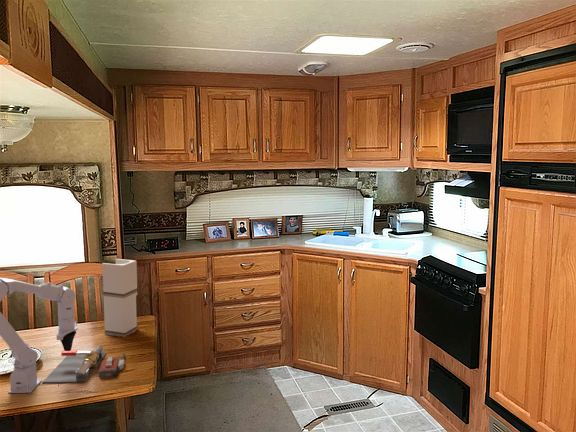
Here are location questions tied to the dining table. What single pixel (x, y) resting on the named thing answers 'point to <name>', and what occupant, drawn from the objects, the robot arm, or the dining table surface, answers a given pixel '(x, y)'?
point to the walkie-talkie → (111, 366)
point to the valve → (89, 362)
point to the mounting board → (69, 370)
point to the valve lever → (76, 353)
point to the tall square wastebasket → (120, 297)
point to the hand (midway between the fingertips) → (67, 350)
